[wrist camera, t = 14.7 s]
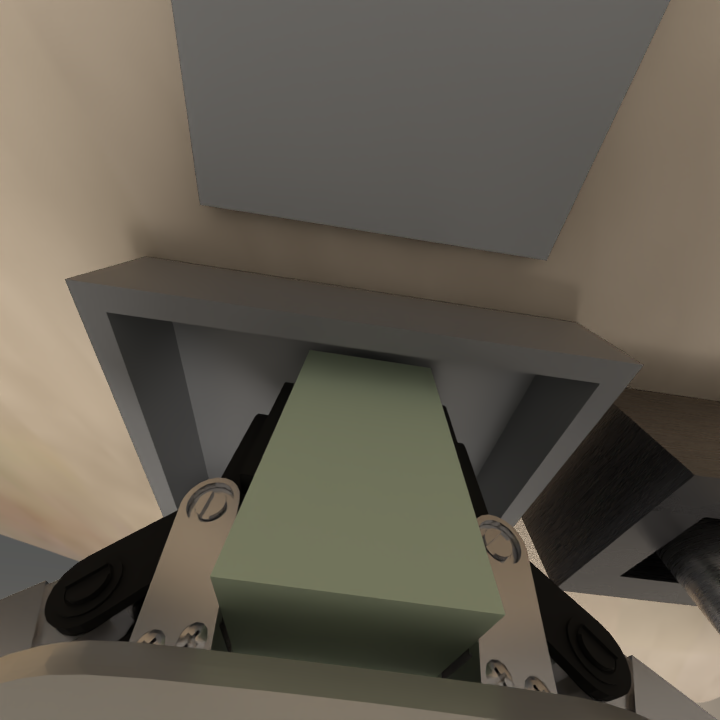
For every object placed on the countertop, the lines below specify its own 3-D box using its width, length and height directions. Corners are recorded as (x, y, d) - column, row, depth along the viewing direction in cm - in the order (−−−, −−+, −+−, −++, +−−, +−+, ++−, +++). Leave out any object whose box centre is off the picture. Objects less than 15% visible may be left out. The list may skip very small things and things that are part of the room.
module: (430, 367, 10) (505, 615, 4) (401, 457, 13) (421, 689, 7) (309, 349, 10) (209, 576, 4) (304, 444, 13) (238, 668, 7)
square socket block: (764, 408, 12) (946, 508, 8) (642, 510, 16) (726, 609, 12) (590, 382, 12) (694, 475, 8) (510, 494, 16) (554, 589, 12)
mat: (793, -300, 5) (836, -350, 4) (538, 257, 9) (546, 260, 9) (124, -465, 4) (95, -541, 4) (208, 204, 9) (200, 204, 8)
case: (577, 322, 10) (643, 365, 8) (462, 513, 17) (478, 570, 15) (145, 256, 10) (65, 279, 7) (202, 481, 17) (170, 534, 14)
